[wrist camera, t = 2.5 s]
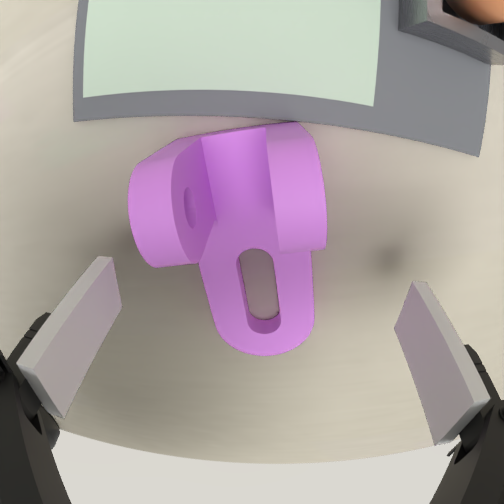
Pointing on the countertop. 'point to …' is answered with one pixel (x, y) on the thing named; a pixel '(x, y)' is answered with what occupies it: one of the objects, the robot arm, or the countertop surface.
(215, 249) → the bracket
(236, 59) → the grey flat plate
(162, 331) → the countertop surface
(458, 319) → the countertop surface
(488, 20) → the button
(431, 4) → the button housing
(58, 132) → the countertop surface
